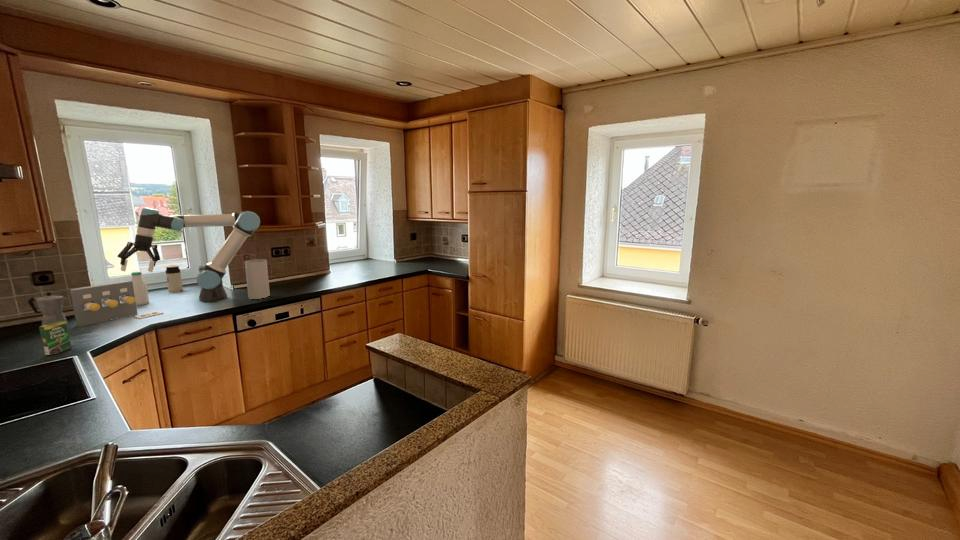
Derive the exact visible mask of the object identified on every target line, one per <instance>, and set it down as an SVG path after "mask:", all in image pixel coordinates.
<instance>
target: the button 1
mask: <svg viewBox="0 0 960 540" xmlns="http://www.w3.org/2000/svg"><path fill="white" fill-rule="evenodd" d="M82 304H83V309H89V310H91V311H97V310H99V309H100V305H99V304H97V303H91V302H90V301H89V302H83V303H82Z"/></svg>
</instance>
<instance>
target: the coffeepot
mask: <svg viewBox="0 0 960 540" xmlns="http://www.w3.org/2000/svg"><path fill="white" fill-rule="evenodd" d="M65 300H67V297H66V296H63V295H52V292H49V291H47V292H46V296H43V297H41V296H39V297H37V296H35V297H30V298H29V299H28V300H27V303H28V305H29V307H30V308H31V310H32V311H33V312H34V314H41V313H42V316H41V317H42V319H41V326H43V325H47V324H51V323H55V322H58V321H66V324H67V326H68V324H69V321H68V319H67V317H66V315H65V314H64V312H63V309H64V302H65ZM34 302H36V304H37V306H38V308H39V310H40V311H38V309H37V307H36V305H35V303H34Z"/></svg>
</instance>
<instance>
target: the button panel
mask: <svg viewBox="0 0 960 540" xmlns="http://www.w3.org/2000/svg"><path fill="white" fill-rule="evenodd" d="M69 292H70V296H71V303H72V307H73V315H74V318H75V323H76V326H77V327H80V328H81V326H82V327H86V326H90V325H89V324H91V325H95V324H99V322H100V323H103V322H102V321H104V322H107V321H106V320H109V321H112V320H111V319H114V320H117V319H116V318H118V319H122V318H121V317H123V318H127V317H131V316H130V315H132V316H136V315H138V309H137V305H136V301H135V302H134V303H133V304H128V303H125V302H121V301H120V297H121V296H129V297H134V298H135V295H134V288H133V282H132V280H124V281H122V280H121V281H116V282H110V283H109V282H108V283H102V284H96V285H91V286H89V285H88V286H83V287H78V288H77V287H76V288H70V289H69ZM104 299H111V300H116V301H118V306H116V307H114V308H112V307H109V306H106V305H103V304H102V301H103V300H104ZM86 302H91V303H97V304H99V305H100V309H99V310H97V311H91V310H89V309H85V308H84V307H83V304H84V303H86ZM135 314H136V315H135ZM126 316H127V317H126ZM94 323H95V324H94ZM85 325H86V326H85Z"/></svg>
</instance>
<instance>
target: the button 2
mask: <svg viewBox="0 0 960 540" xmlns="http://www.w3.org/2000/svg"><path fill="white" fill-rule="evenodd" d="M119 298H120V302H125V303H128V304H133V303H134V302H135V301H136V299H135V298H134V297H129V296H126V295H122V296H119Z"/></svg>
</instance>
